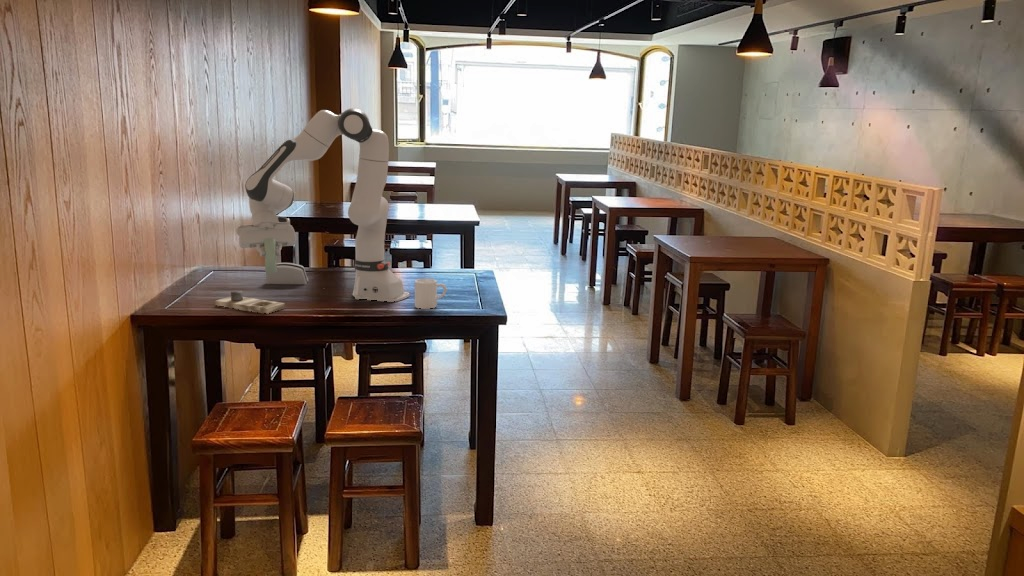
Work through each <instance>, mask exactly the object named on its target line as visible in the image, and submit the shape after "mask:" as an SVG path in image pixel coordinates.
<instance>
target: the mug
mask: <svg viewBox="0 0 1024 576" xmlns="http://www.w3.org/2000/svg"><path fill="white" fill-rule="evenodd" d="M438 287H440V288H443V292H442V294H440V295H438ZM447 290H448V288H447V287H446V285H445V284H444V283H438V281H437V279H434V278H418V279H416V280H414V306H415V307H414V308H417V309H419V308H421V309H420V310H431V309H430V308H433V309H436V308H437V307H436V306H438V300H439V299H442V298H444V297H445V295H446V293H447ZM435 307H436V308H435Z"/></svg>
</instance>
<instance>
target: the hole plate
mask: <svg viewBox="0 0 1024 576" xmlns="http://www.w3.org/2000/svg"><path fill="white" fill-rule="evenodd" d="M243 295H244V293H243V290H233V291H230V296H227V297H224V298H220V299H217V300H214V301H215V302H214V303H215V304H214V305H215V306H216V305H217V306H216V307H219V306H224V307H223V308H225V307H229V308H228V309H232V308H234V309H233V310H238V309H239V310H240V311H244V312H245V311H247V312H251V311H252V313H257V312H258V313H259V314H264V313H266V314H265V315H270V314H272V312H273V313H275V311H276V312H278V311H277V310H279V311H281V309H282V310H285V309H286V305H285V304H286V303H285V302H281V301H280V302H279V301H272V300H267V299H259V298H254V297H253V298H252V297H245V296H243ZM269 313H270V314H269Z"/></svg>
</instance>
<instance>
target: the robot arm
mask: <svg viewBox="0 0 1024 576" xmlns="http://www.w3.org/2000/svg"><path fill="white" fill-rule="evenodd" d="M343 135H344V136H345V138H348V139H350V140H353V141H354V142H355V141H356V142H357V143H358V144H359V155H358V162H357V163H358V167H357V175H356V182H355V185H354V188H353V193H352V197H351V201H350V205H349V207H348V209H347V215H348V218H349V220H350V222H352V224H354V225H356V226H358V229H357V231H356V236H355V240H354V241H355V242H354V245H355V259H354V271H355V278H354V286H353V291H352V296H353V297H354V299H355V300H359V299H367V300H366V301H371V300H377V301H376V302H384V301H387V302H388V303H393V302H394V301H395V302H400V301H402V300H404V299H407V298H409V297H410V296H411V295H410V292H408V291H405V289H404V283H403V281H402V279H400V277H398V276H397V275H396V274H395V273H393V272H392V270H390V269H389V266H391V261H387V260H386V258H385V236H386V235H385V234H386V228H387V224H388V223H387V221H388V214H389V210H390V204H389V202H388V200H387V199H386V198H385V197H384V196H383V193H384V188H385V187H386V183H387V180H388V169H389V161H390V160H389V159H390V158H389V157H390V156H389V155H390V143H389V137H388V135H387V134H386V132H384V131H383V130H379V129H375V128H373V127H372V125H371V123H370V119H369V116H368V114H367V113H366V112H365V111H364V110H362V109H360V108H358V107H357V108H356V107H351V108H347V109H345V110H343V112H340V113H338V114H336V113H334V112H332V111H331V110H327V109H321V110H319V111H317V112H316V113H315V114H314V115H313V116H312V118H311V119H310V120H309V121H308V122H307V124H306V125H305V126H304V128H303V130H302V131H301V132H300V133H299V134H298V135H297V136H295V137H294V138H292V139H288V140H286V141H284V142H283V143H282V144H280V146H279V147H278V148H277V149H276V150H275V151H274V152H273V153H272V154H271V156H270V157H269V158H267V160H266V161H265V162H264V163H263V165H261V167H260V168H258V170H257V171H255V172H254V173H252V174H251V175H250V176H249V177H248V178H247V180H246V181H245V185H244V186H245V192H246V194H247V196H248V205H249V211H250V213H251V224H247V225H244V224H242V225H240V226H238V227H236V229H235V230H236V233H237V236H238V246H239V247H240V248H242V249H252V248H254V249H255V250H256V251H257V252H258V253H259V255H260V257H265V250H264V249H262V248H264V239H275V243H276V257H277V256H281V250H282V248H283V247H292V246H295V245H296V244H297V240H298V239H297V235H296V232H295V231H296V230H295V229H294V227H293V225H291V219H290V218H289V217H288V218H287V217H283V216H279V215H277V214H279V213H282V212H284V211H286V210H287V209H290V207H291V206H292V205H293V203H294V197H295V195H294V194H295V193H294V191H293V188H292V187H291V186H288V185H287V184H285V183H283V182H280V181H278V180H276V179H274V177H275V176H276V175H277V174H278V173H279V171H280V170H282V168H283V167H284V166H285V165H286V164H288V163H289V162H292V161H306V162H313V161H317V160H319V159H321V158H322V157H324V155H325V154H326V153H327V151H328V149H330V147H331V145H332V144H333V142H334V141H335V140H336V138H338V137H339V136H343ZM387 302H386V303H387Z"/></svg>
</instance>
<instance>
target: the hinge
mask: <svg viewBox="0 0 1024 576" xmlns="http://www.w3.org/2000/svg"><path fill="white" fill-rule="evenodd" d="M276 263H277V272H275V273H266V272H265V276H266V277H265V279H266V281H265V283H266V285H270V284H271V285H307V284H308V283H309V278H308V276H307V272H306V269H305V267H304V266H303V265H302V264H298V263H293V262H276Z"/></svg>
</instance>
